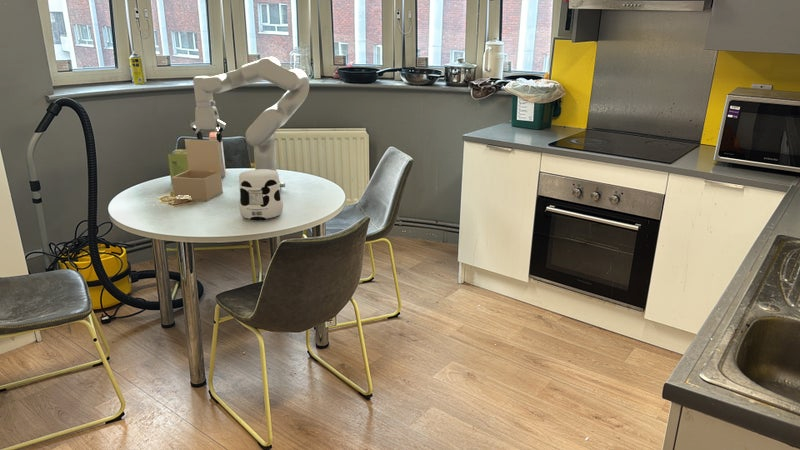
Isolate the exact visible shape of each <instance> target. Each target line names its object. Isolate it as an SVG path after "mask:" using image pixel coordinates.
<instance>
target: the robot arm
mask: <svg viewBox="0 0 800 450" xmlns="http://www.w3.org/2000/svg"><path fill="white" fill-rule="evenodd" d="M262 81H267V82H268V83H271V84H272V85H274V86H277V87H279V88H281V89H283V90H285V91H286V92H285V93H284V94H282V96H281V98H279V100H278V101H277V102H276V103H275V104H273V105H271V106H270V107H268V108H266V109H265V110H264V111H262V113H260V114H259V115H258V116H257V118H256V119H255V120H254V121H253V122H252V124H250V125H249V127H248V128H247V130H246V131H245V140H246V142H247V143H248V145H250V146H252V147H253V157H254V170H257V169H268V170H275V171H277V162H276V160H277V159H276V132H277V130H278V129H279V128H281V127H283V126H284V125H285V124H286V123H287V122H288V121H289V119H291V117H292V116H293V115H294V114H295V113H296V111H297V110H298V109H299V108H300V107H301V106H302V105H303V104H304V102H305V100H306V98H307V97H308V95H309V91H310V81H309V77H308V75H307V74H306V72H305V71H304V70H302V69H300V68H291V69H289V68H287V67H284V66H282V63H281V62H280V60H279V59H278V58H276V57H275V56H267V57H262V58H260V59H258V60H255V61H252V62H249V63H246V64H244V65H243V64H242V65H241V66H240V67H239V68H237V69H235V70H231V71H227V72H225V73H221V74H217V75H213V76H209V75H198V76H194V77H193V78H192V83H193V90H194V97H195V104H196V107H195V111H194V113H195V114H194V115H195V117H194V119H195V120H193V121H192V122H190V123H189V124H190V125H189V126H190V128H191V129H192V130H193V132H194V133H195V134H196V140H204V139H203V133H202V131H203V130H204V131H205V130H212V131H213V130H214V132H217V134H216V136H217V141H218V142H221V141H222V142H223V135H222V134H223V131H225V128H226V124H227V123H225V122H224V121H222V120H220V115H219V112H218V109H217V107H216V105H217V102H216V101H214V96H213V94H221V93H224V92H228V91H230V90H234V89H237V88H239V87H242V86H243V87H244V86H246V85H247V86H248V85H252V84H255V83H259V82H262ZM279 184H280V190H282V188H286V182H281V181H279Z"/></svg>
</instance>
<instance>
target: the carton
mask: <svg viewBox="0 0 800 450" xmlns="http://www.w3.org/2000/svg"><path fill="white" fill-rule="evenodd" d="M222 181H223V180H222V177H221V172H220V171H201V170H187V171H185V172H183V173H181V174H178V175H176V176H174V177H172V184H173V185H172V184H171V185H172V189H173V190H172V191H173V197H174V196H178V195H189V196H191V198H192V200H191V201H192V202H193V201H196V202H209V201H211V200H212V199H214V198H216V197H218V196H219V195H221V194H223V193H224V191H223V182H222Z"/></svg>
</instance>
